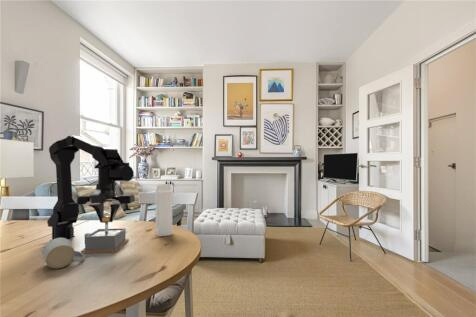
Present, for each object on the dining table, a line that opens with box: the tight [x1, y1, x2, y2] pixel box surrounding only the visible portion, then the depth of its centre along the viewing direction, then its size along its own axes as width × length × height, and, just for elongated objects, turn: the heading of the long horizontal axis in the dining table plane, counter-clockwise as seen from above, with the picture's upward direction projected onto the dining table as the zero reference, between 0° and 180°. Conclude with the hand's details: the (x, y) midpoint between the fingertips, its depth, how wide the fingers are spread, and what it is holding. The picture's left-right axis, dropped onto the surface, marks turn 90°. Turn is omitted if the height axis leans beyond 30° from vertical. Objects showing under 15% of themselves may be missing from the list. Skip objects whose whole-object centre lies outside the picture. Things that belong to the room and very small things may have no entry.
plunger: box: [92, 214, 121, 236], centre depth 92 cm, size 8×8×7 cm
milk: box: [155, 183, 173, 238], centre depth 109 cm, size 6×6×22 cm
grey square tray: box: [80, 227, 130, 254], centre depth 92 cm, size 14×12×6 cm
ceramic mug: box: [42, 238, 86, 270], centre depth 77 cm, size 11×8×8 cm
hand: (106, 222), depth 92 cm, fingers closed on plunger, 3 cm apart
